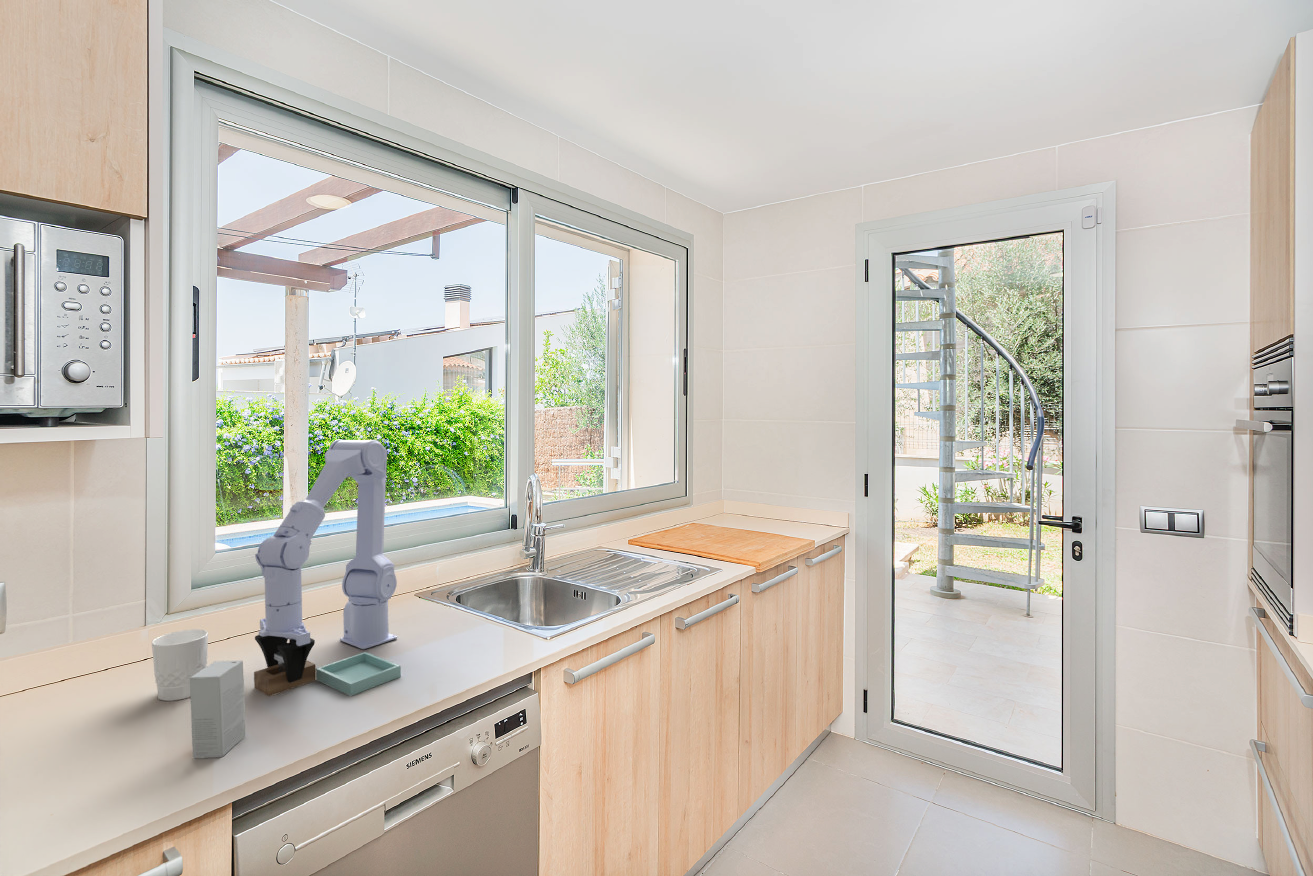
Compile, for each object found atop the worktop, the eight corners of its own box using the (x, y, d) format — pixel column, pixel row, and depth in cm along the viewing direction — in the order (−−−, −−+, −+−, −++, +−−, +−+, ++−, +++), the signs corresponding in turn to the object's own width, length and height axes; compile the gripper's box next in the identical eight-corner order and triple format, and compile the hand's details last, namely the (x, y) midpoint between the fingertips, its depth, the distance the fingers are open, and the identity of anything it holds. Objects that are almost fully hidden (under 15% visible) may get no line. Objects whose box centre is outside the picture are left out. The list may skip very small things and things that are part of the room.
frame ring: (254, 688, 111) (253, 671, 111) (300, 672, 118) (300, 657, 118) (269, 696, 108) (268, 679, 108) (315, 680, 115) (315, 664, 115)
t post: (274, 683, 114) (274, 653, 113) (285, 679, 115) (284, 650, 115) (285, 688, 111) (285, 658, 111) (296, 685, 113) (295, 655, 112)
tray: (316, 679, 115) (315, 668, 115) (365, 662, 123) (365, 652, 123) (350, 696, 108) (350, 684, 108) (400, 676, 116) (400, 665, 116)
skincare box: (216, 737, 95) (215, 660, 94) (246, 736, 95) (244, 659, 94) (190, 759, 89) (188, 677, 88) (222, 758, 89) (219, 676, 88)
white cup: (147, 706, 104) (146, 648, 104) (159, 688, 111) (158, 633, 111) (205, 697, 108) (203, 640, 108) (213, 679, 115) (211, 626, 115)
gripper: (241, 600, 113) (242, 673, 114) (279, 615, 105) (281, 693, 106) (282, 591, 119) (283, 660, 120) (321, 604, 111) (322, 679, 111)
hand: (285, 675), depth 113 cm, fingers open, 6 cm apart
